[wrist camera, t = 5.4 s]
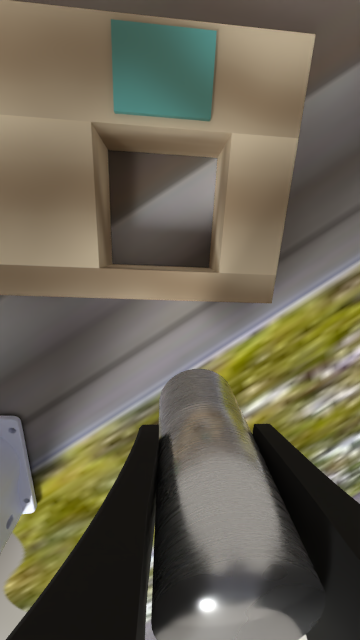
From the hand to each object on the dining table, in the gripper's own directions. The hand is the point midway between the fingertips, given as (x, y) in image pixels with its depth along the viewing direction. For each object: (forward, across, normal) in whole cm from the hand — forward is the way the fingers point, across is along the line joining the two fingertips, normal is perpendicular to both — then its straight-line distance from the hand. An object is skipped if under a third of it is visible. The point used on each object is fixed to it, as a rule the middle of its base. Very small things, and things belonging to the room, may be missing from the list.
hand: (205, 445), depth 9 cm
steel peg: (+3, 0, 0) cm, 3 cm away
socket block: (+8, +8, -10) cm, 15 cm away
